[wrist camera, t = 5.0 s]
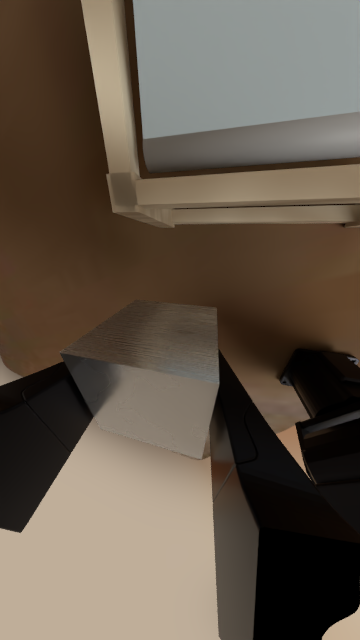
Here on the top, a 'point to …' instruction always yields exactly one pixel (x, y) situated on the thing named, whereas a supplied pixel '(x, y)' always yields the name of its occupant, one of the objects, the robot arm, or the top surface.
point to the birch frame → (203, 190)
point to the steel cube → (151, 373)
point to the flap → (247, 81)
